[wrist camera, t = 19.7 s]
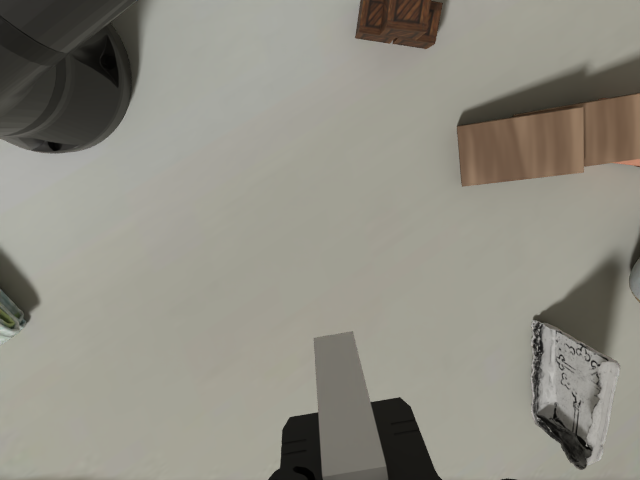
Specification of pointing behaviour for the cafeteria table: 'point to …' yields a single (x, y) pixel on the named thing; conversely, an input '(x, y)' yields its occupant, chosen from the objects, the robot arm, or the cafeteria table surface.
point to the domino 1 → (522, 147)
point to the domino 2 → (608, 128)
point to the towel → (9, 318)
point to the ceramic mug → (635, 280)
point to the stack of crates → (399, 22)
